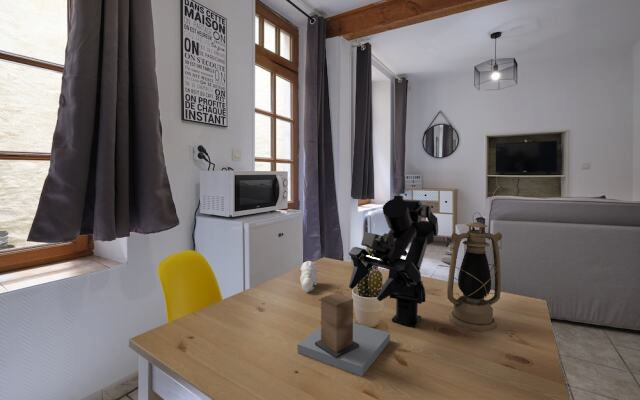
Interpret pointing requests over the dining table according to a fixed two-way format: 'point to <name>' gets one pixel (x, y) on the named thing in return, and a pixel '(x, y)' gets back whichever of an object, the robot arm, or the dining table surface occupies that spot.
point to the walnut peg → (336, 325)
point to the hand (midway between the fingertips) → (363, 293)
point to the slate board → (354, 360)
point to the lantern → (475, 280)
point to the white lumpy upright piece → (308, 275)
